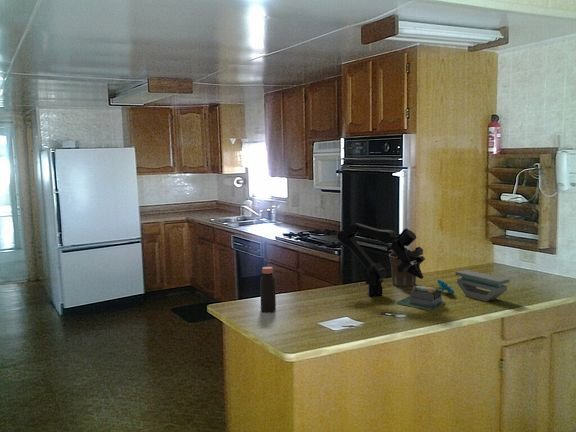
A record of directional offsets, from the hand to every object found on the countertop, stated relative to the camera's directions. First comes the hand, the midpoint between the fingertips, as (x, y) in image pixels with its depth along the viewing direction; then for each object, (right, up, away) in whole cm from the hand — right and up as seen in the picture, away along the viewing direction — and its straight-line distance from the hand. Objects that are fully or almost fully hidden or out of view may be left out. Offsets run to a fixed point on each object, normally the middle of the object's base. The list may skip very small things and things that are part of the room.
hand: (422, 278), depth 250 cm
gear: (+16, -10, +19) cm, 27 cm away
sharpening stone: (+31, -11, +11) cm, 35 cm away
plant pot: (0, -8, +38) cm, 39 cm away
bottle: (-72, -14, -6) cm, 73 cm away
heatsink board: (0, -12, +2) cm, 12 cm away
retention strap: (+1, -5, 0) cm, 6 cm away
